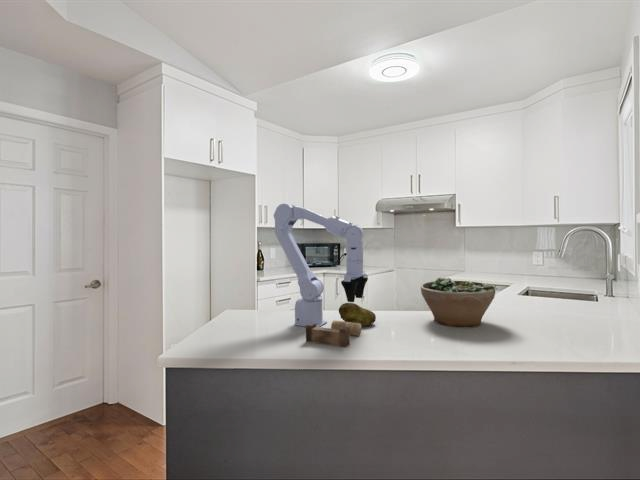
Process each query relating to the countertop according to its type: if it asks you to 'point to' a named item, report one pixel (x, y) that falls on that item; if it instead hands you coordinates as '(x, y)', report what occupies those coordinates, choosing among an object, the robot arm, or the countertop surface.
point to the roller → (353, 327)
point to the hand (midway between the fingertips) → (355, 299)
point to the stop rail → (327, 335)
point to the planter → (458, 301)
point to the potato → (356, 314)
